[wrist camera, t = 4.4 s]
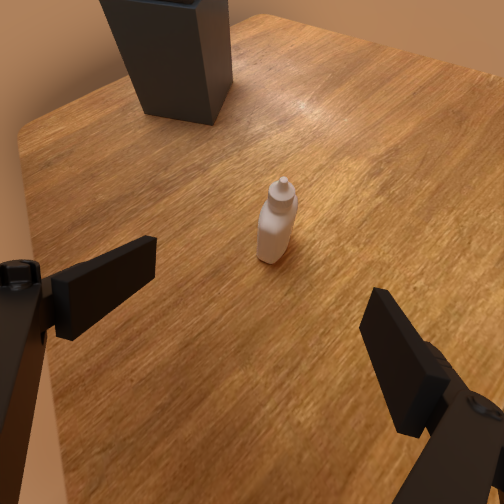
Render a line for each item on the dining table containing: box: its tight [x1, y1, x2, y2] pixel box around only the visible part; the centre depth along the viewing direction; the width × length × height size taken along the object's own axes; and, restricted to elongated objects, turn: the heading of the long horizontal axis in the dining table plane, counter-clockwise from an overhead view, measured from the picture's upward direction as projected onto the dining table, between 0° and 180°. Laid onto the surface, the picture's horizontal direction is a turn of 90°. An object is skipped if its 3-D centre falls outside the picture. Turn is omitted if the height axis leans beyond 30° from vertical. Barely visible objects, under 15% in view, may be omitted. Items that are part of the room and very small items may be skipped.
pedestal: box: [99, 0, 233, 125], centre depth 38 cm, size 12×12×18 cm
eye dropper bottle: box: [257, 176, 298, 264], centre depth 28 cm, size 4×6×12 cm
